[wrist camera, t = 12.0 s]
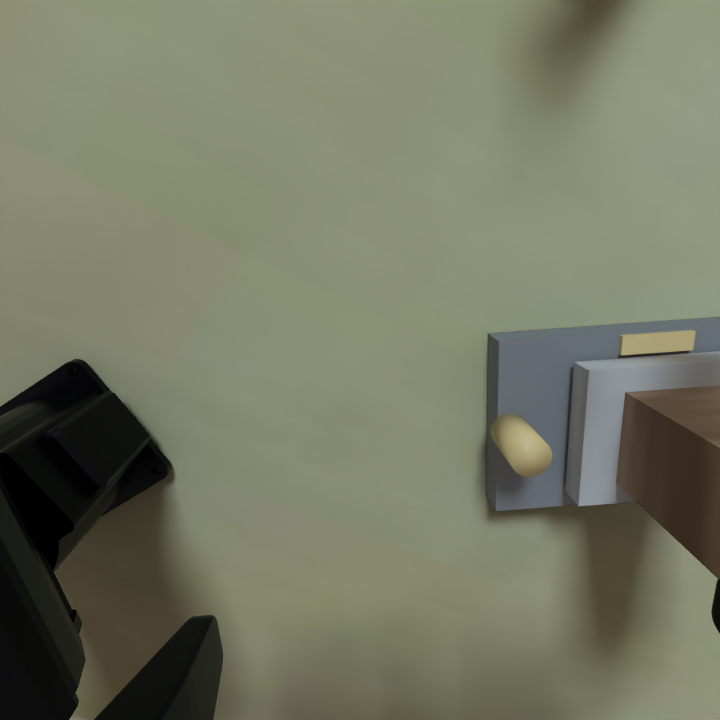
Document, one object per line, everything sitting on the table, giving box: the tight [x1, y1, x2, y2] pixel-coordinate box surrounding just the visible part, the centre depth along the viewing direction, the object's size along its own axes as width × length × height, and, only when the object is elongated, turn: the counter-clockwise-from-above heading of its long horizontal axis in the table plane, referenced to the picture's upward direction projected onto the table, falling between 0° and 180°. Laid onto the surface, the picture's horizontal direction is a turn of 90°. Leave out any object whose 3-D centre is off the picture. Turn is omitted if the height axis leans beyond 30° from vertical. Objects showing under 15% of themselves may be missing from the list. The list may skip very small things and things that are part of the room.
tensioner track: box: [486, 317, 720, 511], centre depth 20 cm, size 18×8×4 cm, turn 94°
